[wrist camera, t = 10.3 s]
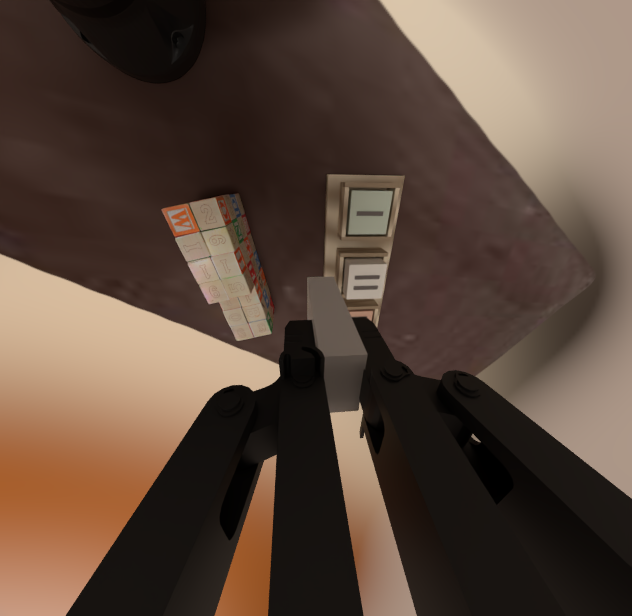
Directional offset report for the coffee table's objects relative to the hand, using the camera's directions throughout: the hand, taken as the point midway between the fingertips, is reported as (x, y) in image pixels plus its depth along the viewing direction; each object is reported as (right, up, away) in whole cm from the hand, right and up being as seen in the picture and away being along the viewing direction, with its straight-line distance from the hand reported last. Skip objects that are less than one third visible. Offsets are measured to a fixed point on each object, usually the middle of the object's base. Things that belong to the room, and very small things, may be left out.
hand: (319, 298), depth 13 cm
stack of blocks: (-13, +8, +27) cm, 31 cm away
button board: (+7, +7, +29) cm, 31 cm away
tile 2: (+8, +5, +26) cm, 27 cm away
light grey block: (+8, +15, +23) cm, 29 cm away
